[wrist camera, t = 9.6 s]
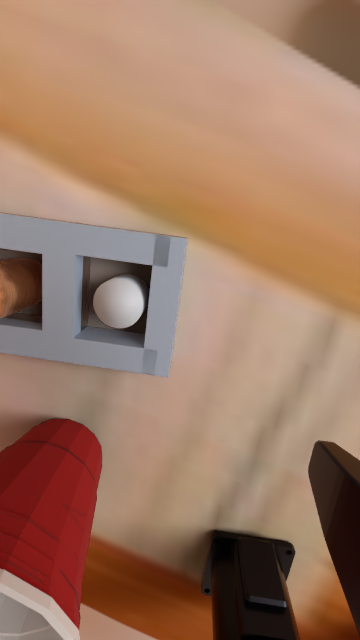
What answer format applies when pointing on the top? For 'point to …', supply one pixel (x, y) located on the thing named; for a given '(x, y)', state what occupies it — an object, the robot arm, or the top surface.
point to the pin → (19, 284)
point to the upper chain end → (97, 295)
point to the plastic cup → (46, 529)
